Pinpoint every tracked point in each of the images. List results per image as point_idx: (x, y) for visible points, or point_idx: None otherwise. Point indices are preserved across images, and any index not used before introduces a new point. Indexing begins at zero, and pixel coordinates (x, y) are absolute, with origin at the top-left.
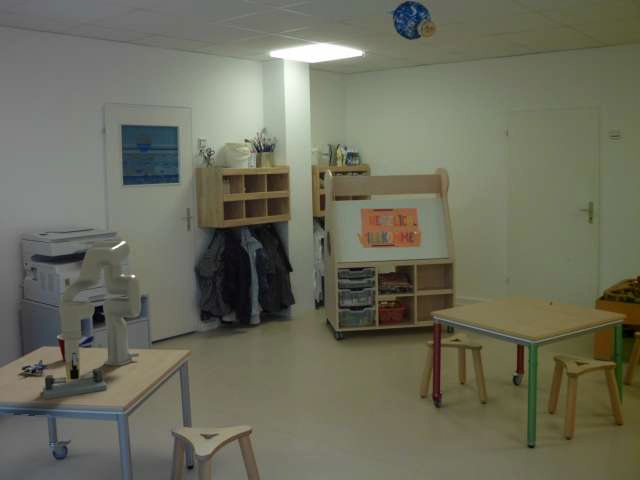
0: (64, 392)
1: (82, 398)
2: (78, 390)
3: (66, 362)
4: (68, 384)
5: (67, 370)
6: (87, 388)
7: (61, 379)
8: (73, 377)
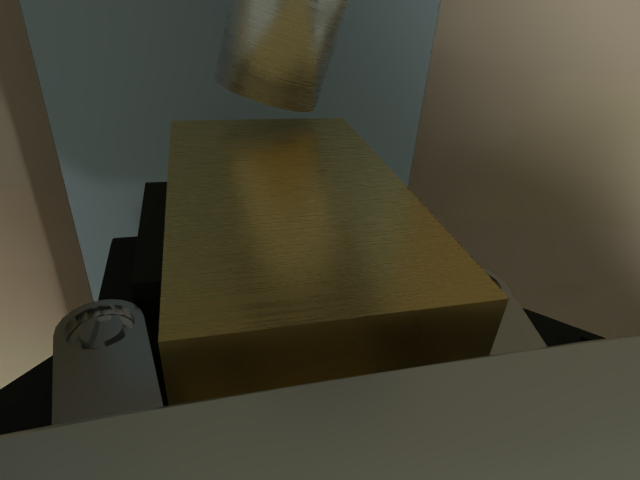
0: (25, 3)
1: None
2: (72, 198)
3: (414, 322)
4: (352, 108)
5: (169, 220)
6: (94, 293)
7: (242, 13)
8: (117, 240)
